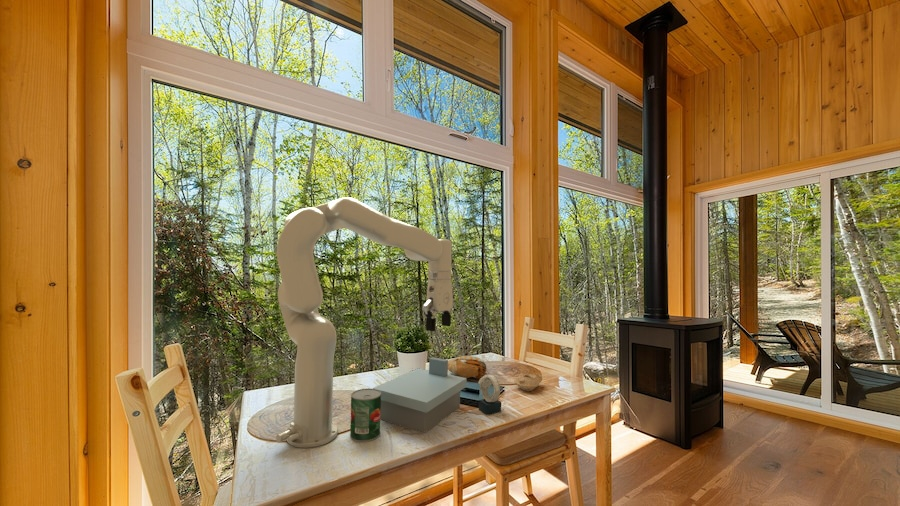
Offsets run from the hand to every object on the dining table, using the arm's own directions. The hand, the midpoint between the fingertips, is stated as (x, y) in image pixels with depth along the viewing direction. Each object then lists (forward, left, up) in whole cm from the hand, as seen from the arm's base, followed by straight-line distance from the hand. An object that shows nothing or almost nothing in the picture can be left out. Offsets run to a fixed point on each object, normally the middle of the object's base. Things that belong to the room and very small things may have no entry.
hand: (438, 328), depth 120 cm
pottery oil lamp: (+29, -22, -25) cm, 44 cm away
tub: (-10, 0, -24) cm, 26 cm away
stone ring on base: (+3, -17, -25) cm, 30 cm away
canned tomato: (-29, +5, -25) cm, 38 cm away
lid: (-10, 0, -18) cm, 20 cm away
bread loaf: (+27, +1, -25) cm, 37 cm away
